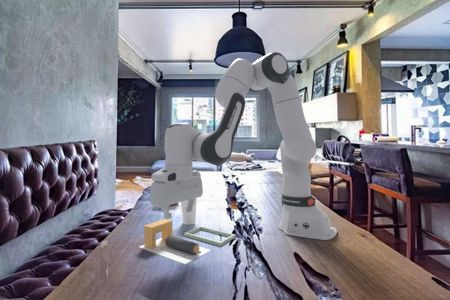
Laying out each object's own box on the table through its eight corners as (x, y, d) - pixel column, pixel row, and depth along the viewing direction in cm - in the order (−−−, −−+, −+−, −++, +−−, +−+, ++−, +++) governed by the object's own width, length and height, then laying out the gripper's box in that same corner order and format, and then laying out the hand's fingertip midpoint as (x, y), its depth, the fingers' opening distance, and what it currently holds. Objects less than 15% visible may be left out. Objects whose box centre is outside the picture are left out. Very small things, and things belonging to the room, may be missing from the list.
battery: (199, 255, 85) (201, 244, 86) (191, 255, 82) (194, 243, 83) (170, 245, 92) (172, 235, 93) (163, 245, 90) (165, 234, 91)
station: (211, 253, 87) (211, 248, 87) (185, 268, 78) (185, 262, 78) (165, 239, 100) (165, 234, 100) (138, 250, 91) (138, 245, 91)
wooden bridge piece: (172, 239, 96) (172, 220, 96) (152, 248, 89) (151, 227, 88) (165, 237, 98) (164, 218, 98) (144, 245, 91) (143, 225, 91)
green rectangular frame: (235, 240, 98) (235, 234, 98) (220, 249, 91) (220, 242, 91) (200, 231, 108) (200, 226, 108) (184, 238, 101) (184, 232, 101)
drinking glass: (182, 228, 112) (181, 193, 112) (180, 223, 119) (180, 190, 118) (198, 226, 114) (197, 192, 113) (195, 222, 121) (195, 189, 120)
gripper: (193, 169, 96) (193, 207, 97) (146, 175, 80) (147, 221, 81) (206, 170, 93) (206, 209, 93) (160, 177, 76) (161, 225, 77)
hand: (178, 215), depth 87 cm, fingers open, 8 cm apart
